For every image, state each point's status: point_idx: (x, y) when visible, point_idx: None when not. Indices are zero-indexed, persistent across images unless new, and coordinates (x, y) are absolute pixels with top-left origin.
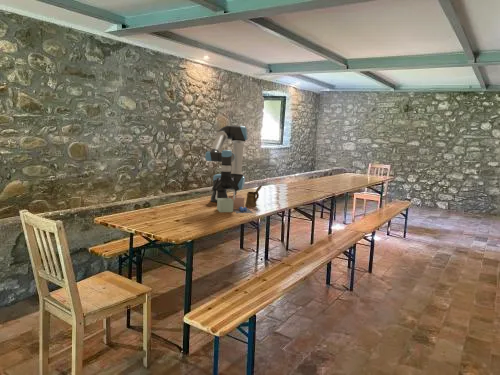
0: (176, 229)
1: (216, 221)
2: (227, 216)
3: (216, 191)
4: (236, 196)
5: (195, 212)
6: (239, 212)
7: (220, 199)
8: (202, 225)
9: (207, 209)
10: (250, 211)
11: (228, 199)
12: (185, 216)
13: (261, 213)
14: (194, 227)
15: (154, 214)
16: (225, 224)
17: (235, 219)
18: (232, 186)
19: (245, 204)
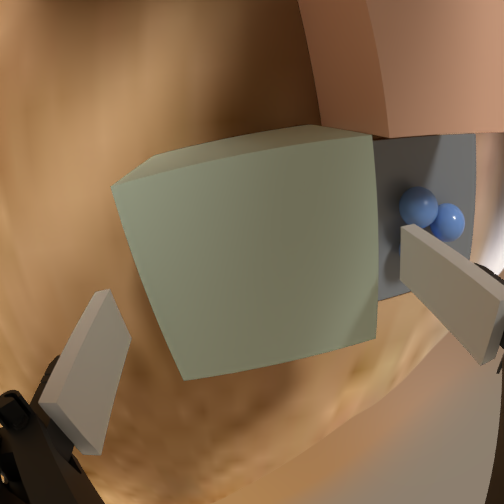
0: None
1: (195, 463)
2: (259, 389)
3: (86, 446)
4: (462, 7)
5: (3, 294)
6: (378, 279)
7: (179, 297)
8: (147, 491)
9: (55, 154)
10: (465, 232)
11: (320, 277)
12: (8, 388)
13: (500, 266)
14: (128, 499)
15: None
16: (241, 484)
17: (302, 431)
18: (501, 454)
19: None
